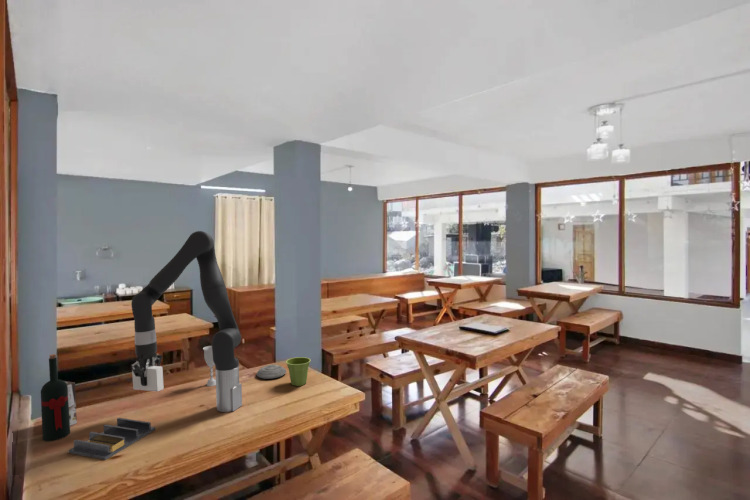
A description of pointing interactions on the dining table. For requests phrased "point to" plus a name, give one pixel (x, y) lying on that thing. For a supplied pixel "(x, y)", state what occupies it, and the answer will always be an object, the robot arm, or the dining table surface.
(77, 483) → the dining table surface
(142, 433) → the rack
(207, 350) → the chalice
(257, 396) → the dining table surface
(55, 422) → the wine bottle
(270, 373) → the grey stone
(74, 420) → the coffee box
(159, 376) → the panel
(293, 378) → the plant pot
